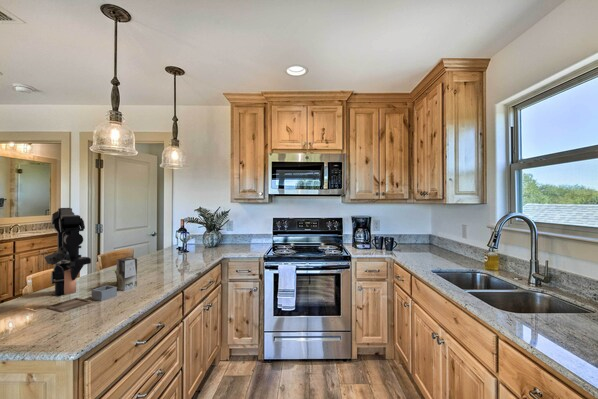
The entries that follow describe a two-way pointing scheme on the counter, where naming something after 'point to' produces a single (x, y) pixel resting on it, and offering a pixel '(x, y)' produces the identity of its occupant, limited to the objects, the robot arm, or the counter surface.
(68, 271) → the dowel
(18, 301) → the counter surface
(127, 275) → the coffee box
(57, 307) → the tray
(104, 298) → the open box
